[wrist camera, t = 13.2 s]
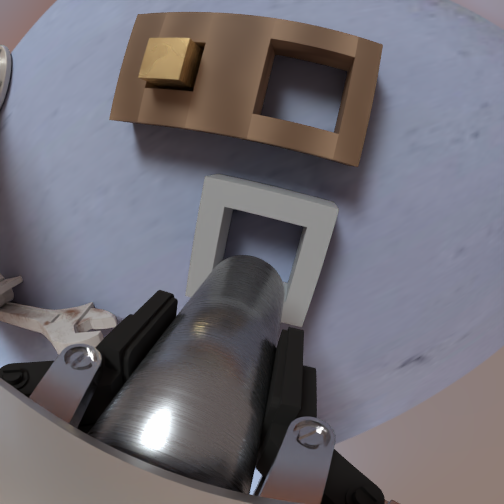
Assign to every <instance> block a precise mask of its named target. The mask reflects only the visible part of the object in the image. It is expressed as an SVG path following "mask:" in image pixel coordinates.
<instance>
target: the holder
mask: <svg viewBox="0 0 504 504" xmlns="http://www.w3.org/2000/svg"><path fill="white" fill-rule="evenodd" d="M233 209H237V210H241V211H245V212H249V213H253V214H257V215H261V216H265V217H269V218H273V219H277V220H281V221H285V222H289V223H292V224H296V225H300V226H304V227H303V231H302V234H301V238H300V242H299V245H298V249H297V252H296V256H295V260H294V263H293V267H292V270H291V274H290V277H289V281H288V283H286V282H283V285H284V292H285V295H284V304H283V310H282V317H281V322H282V323H286V324H290V325H294V326H298V327H302V325H303V322H304V319H305V317H306V314H307V311H308V308H309V305H310V302H311V299H312V296H313V293H314V290H315V287H316V284H317V281H318V278H319V275H320V272H321V268H322V265H323V262H324V259H325V256H326V252H327V249H328V246H329V242H330V239H331V236H332V232H333V229H334V225H335V222H336V218H337V215H338V211H339V209H338V207H337V206H336V205H335V204H334V202H332V201H328V200H325V199H321V198H317V197H314V196H310V195H306V194H302V193H299V192H295V191H291V190H287V189H283V188H279V187H275V186H271V185H266V184H262V183H258V182H254V181H249V180H245V179H241V178H236V177H232V176H227V175H222V174H215V175H210V176H205V180H204V185H203V190H202V195H201V201H200V206H199V212H198V218H197V223H196V229H195V235H194V241H193V248H192V254H191V260H190V267H189V274H188V281H187V288H186V295H185V296H188V297H192V296H193V294H194V293H195V292H196V291H197V289H198V288H199V287H200V286H201V284H202V283H203V282H204V281H205V279H206V278H207V277H208V275H209V274H210V273H211V272H212V270H213V269H214V268H215V267H216V266H217V265H218V264H219V263H220V262H222V261H223V257H224V252H225V247H226V242H227V237H228V232H229V227H230V222H231V217H232V212H233Z"/></svg>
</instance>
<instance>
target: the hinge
mask: <svg viewBox="0 0 504 504" xmlns="http://www.w3.org/2000/svg"><path fill="white" fill-rule="evenodd" d="M21 282H23V280H22V277H21V276H18V277H13V278H9V279H5V280H4V277H3V276H2V275H1V274H0V307H1V306H3V305H4V304H6V303H8V302H9V301H11V300H12V299H14V293H13V290H12V287H14V286H16V285H18V284H19V283H21Z"/></svg>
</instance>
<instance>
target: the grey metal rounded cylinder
mask: <svg viewBox="0 0 504 504" xmlns="http://www.w3.org/2000/svg"><path fill="white" fill-rule="evenodd" d="M284 295H285V292H284V285H283V282H282V279H281V278H280V276H279V274H278V273H277V271H276V270H275V269H274V268H273V267H272V266H271V265H270V264H268V263H267V262H265V261H264V260H262V259H259V258H257V257H254V256H248V255H237V256H232V257H229V258H227V259H225V260H223V261H222V262H220V263H219V264H218V265H217V266H216V267H215V268H214V269H213V270H212V272H211V273H210V274H209V275H208V277H207V278H206V279H205V281H204V282H203V283H202V284H201V286H200V287H199V288H198V289H197V291H196V292H195V293H194V294H193V296H192V297H191V298H190V300H189V301H188V302H187V303H186V305H185V306H184V307H183V309H182V310H181V311H180V312H179V314H178V315H177V316H176V317H175V319H174V320H173V321H172V323H171V324H170V325H169V327H168V328H167V329H166V330H165V332H164V333H163V334H162V336H161V337H160V338H159V339H158V341H157V342H156V343H155V345H154V346H153V347H152V349H151V350H150V351H149V352H148V354H147V355H146V356H145V358H144V359H143V360H142V362H141V363H140V364H139V366H138V367H137V368H136V370H135V371H134V372H133V373H132V375H131V376H130V377H129V379H128V380H127V381H126V383H125V384H124V385H123V387H122V388H121V389H120V391H119V392H118V393H117V395H116V396H115V397H114V399H113V400H112V401H111V403H110V404H109V405H108V407H107V408H106V409H105V411H104V412H103V413H102V415H101V416H100V417H99V419H98V420H97V422H96V423H95V424H94V426H93V427H92V428H91V430H90V431H89V432H88V435H89V436H91V437H93V438H95V439H97V440H99V441H101V442H103V443H105V444H107V445H109V446H111V447H113V448H115V449H117V450H119V451H121V452H123V453H126V454H128V455H130V456H132V457H135V458H137V459H139V460H142V461H144V462H146V463H149V464H151V465H154V466H156V467H159V468H162V469H164V470H167V471H170V472H172V473H175V474H178V475H181V476H184V477H187V478H190V479H193V480H196V481H200V482H203V483H206V484H210V485H213V486H217V487H220V488H224V489H228V490H232V491H236V492H241V493H245V494H249V493H250V488H251V484H252V479H253V474H254V470H255V465H256V460H257V455H258V450H259V445H260V440H261V435H262V429H263V421H264V415H265V410H266V405H267V399H268V394H269V388H270V382H271V377H272V371H273V365H274V359H275V353H276V347H277V343H278V337H279V330H280V324H281V317H282V310H283V304H284Z"/></svg>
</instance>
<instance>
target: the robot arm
mask: <svg viewBox="0 0 504 504" xmlns="http://www.w3.org/2000/svg"><path fill="white" fill-rule="evenodd" d="M10 74H11V55H10V51H9V49H8V48H7V47H6V46H4V45H0V109H1V106H2V104H3V101H4V99H5V95H6V92H7V89H8V84H9V80H10ZM177 303H178V301H177V299H175V298H174V295H173V294H171V293H168V292H165V291H162V290H159V291H157V292H156V293H155V294H154V295H153V296H152V297H151V298H150V299H149V300H148V301H147V302H146V303H145V304H144V305H143V306H142V307H141V308H140V309H139V310H138V311H137V312H136V313H135V314H134V315H132V314H130V315H128V316H127V317H126V318H125V319H124V320H123V321H122V322H121V323H120V324H119V325H118V326H117V327H115V328H114V329H113V330H112V331H111V332H110V333H109V334H108V335H107V336H106V337H105V338H104V339H103V340H102V341H101V342H100V343H99V344H98V345H97V346H96V347H93V346H90V345H87V344H73V345H70V346H68V347H66V348H65V349H63V350H62V351H61V353H60V354H59V356H58V357H57V358H56V360H55V361H43V362H28V363H12V364H7V365H5V366H3V367H2V368H0V504H400V503H398V502H396V501H394V500H391V501H390V502H389V501H387V500H385V499H384V495H383V493H382V491H381V490H380V489H379V488H378V486H377V485H375V484H374V483H373V482H372V481H370V480H369V479H368V478H367V477H366V476H365V475H363V474H362V473H361V472H360V471H359V470H357V469H356V468H355V467H354V466H353V465H352V464H350V463H349V462H348V461H347V460H346V459H345V458H344V457H342V456H341V455H340V454H339V453H338V452H337V451H336V450H335V449H334V445H335V433H334V431H333V429H332V428H331V427H330V425H328V424H327V423H326V422H324V421H323V420H320V419H318V418H317V395H316V369H315V368H312V367H307V366H303V341H304V331H303V330H299V329H295V328H291V327H289V328H288V331H287V330H284V329H283V330H282V332H281V335H280V338H279V341H278V344H277V347H276V353H275V359H274V365H273V371H272V377H271V382H270V388H269V394H268V399H267V405H266V410H265V415H264V421H263V429H262V435H261V440H260V445H259V450H258V455H257V460H256V465H255V466H256V469H257V470H258V471H259V472H260V473H261V474H262V476H261V478H260V480H259V482H258V485H257V487H256V489H255V491H254V493H253V495H250V494H245V493H241V492H236V491H232V490H228V489H224V488H220V487H217V486H213V485H210V484H206V483H203V482H200V481H196V480H193V479H190V478H187V477H184V476H181V475H178V474H175V473H172V472H170V471H167V470H164V469H162V468H159V467H156V466H154V465H151V464H149V463H146V462H144V461H142V460H139V459H137V458H135V457H132V456H130V455H128V454H126V453H123V452H121V451H119V450H117V449H115V448H113V447H111V446H109V445H107V444H105V443H103V442H101V441H99V440H97V439H95V438H93V437H91V436H89V435H88V432H89V431H90V430H91V428H92V427H93V426H94V424H95V423H96V422H97V420H98V419H99V417H100V416H101V415H102V413H103V412H104V411H105V409H106V408H107V407H108V405H109V404H110V403H111V401H112V400H113V399H114V397H115V396H116V395H117V393H118V392H119V391H120V389H121V388H122V387H123V385H124V384H125V383H126V381H127V380H128V379H129V377H130V376H131V375H132V373H133V372H134V371H135V370H136V368H137V367H138V366H139V364H140V363H141V362H142V360H143V359H144V358H145V356H146V355H147V354H148V352H149V351H150V350H151V349H152V347H153V346H154V345H155V343H156V342H157V341H158V339H159V338H160V337H161V336H162V334H163V333H164V332H165V330H166V329H167V328H168V327H169V325H170V324H171V323H172V321H173V320H174V319H175V317H176V312H177Z"/></svg>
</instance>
